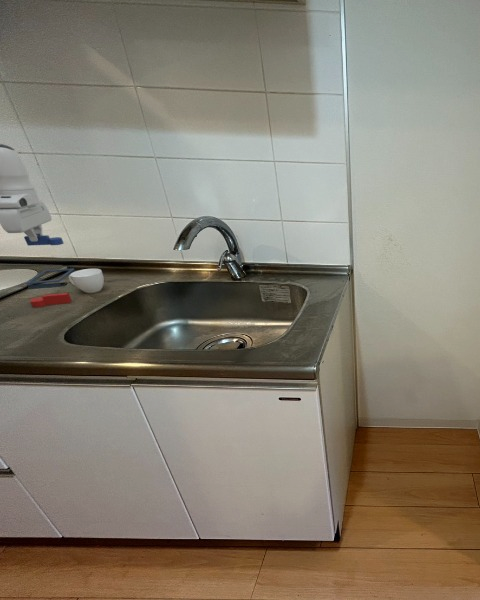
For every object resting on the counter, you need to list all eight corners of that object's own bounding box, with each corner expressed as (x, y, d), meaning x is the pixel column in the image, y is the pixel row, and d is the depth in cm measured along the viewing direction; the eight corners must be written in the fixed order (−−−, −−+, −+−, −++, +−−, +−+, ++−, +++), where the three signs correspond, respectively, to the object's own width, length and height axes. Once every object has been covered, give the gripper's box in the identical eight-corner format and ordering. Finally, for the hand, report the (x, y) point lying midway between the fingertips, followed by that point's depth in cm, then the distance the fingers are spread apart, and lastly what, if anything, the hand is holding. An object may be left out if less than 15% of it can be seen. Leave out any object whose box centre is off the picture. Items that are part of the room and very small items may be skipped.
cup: (95, 295, 103) (88, 277, 100) (64, 294, 103) (55, 275, 100) (114, 286, 110) (107, 269, 107) (84, 285, 110) (77, 267, 107)
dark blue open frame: (61, 286, 108) (58, 280, 106) (29, 289, 104) (25, 282, 103) (76, 274, 117) (73, 268, 116) (47, 276, 114) (44, 270, 113)
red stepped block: (73, 299, 100) (69, 291, 99) (68, 304, 97) (64, 295, 96) (36, 303, 96) (31, 294, 95) (30, 308, 94) (25, 299, 92)
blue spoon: (26, 246, 104) (21, 237, 102) (31, 243, 106) (27, 235, 105) (61, 245, 107) (57, 236, 106) (65, 242, 110) (62, 234, 109)
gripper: (23, 193, 107) (40, 232, 113) (-17, 203, 90) (6, 248, 96) (48, 193, 109) (64, 232, 115) (13, 203, 93) (34, 247, 99)
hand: (37, 239), depth 105 cm, fingers closed on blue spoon
